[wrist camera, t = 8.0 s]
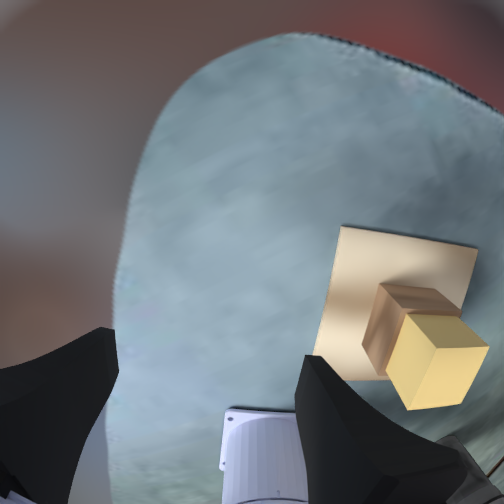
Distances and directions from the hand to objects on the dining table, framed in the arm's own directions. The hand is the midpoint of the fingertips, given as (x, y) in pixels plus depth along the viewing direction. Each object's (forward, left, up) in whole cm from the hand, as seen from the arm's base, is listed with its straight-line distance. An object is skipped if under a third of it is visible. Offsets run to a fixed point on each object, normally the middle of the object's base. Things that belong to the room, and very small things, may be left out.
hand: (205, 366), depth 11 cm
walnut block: (-2, -13, -10) cm, 17 cm away
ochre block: (-2, -13, -6) cm, 14 cm away
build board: (-2, -13, -10) cm, 17 cm away
